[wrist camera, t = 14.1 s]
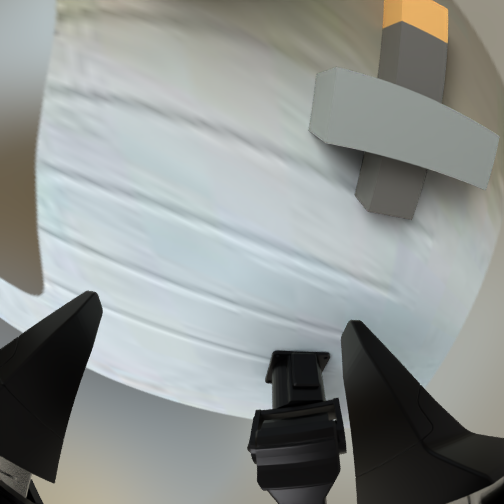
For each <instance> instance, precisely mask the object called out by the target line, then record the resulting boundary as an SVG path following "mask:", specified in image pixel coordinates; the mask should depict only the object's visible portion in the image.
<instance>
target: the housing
mask: <svg viewBox="0 0 504 504" xmlns="http://www.w3.org/2000/svg"><path fill="white" fill-rule="evenodd" d="M309 131H310V132H311V133H313V134H314V135H315V136H317V137H318V138H319V139H321V140H322V141H323V142H325V143H328V144H333V145H338V146H343V147H348V148H352V149H357V150H361V151H366V152H370V153H374V154H378V155H382V156H386V157H389V158H393V159H397V160H400V161H404V162H407V163H411V164H414V165H417V166H420V167H424V168H427V169H430V170H433V171H436V172H439V173H442V174H444V175H447V176H450V177H453V178H456V179H458V180H461V181H463V182H466V183H469V184H471V185H474V186H476V187H479V188H481V189H483V190H486V188H487V185H488V182H489V178H490V175H491V171H492V167H493V163H494V159H495V155H496V151H497V146H498V142H499V137H500V136H498V135H497V134H495V133H494V132H492V131H490V130H489V129H487V128H486V127H484V126H482V125H481V124H479V123H477V122H476V121H474V120H472V119H470V118H468V117H467V116H465V115H463V114H461V113H459V112H457V111H455V110H453V109H451V108H449V107H447V106H445V105H443V104H441V103H439V102H437V101H435V100H433V99H430V98H428V97H426V96H424V95H421V94H419V93H416V92H414V91H411V90H409V89H406V88H404V87H401V86H398V85H396V84H393V83H390V82H387V81H384V80H381V79H378V78H375V77H372V76H369V75H365V74H362V73H359V72H355V71H351V70H348V69H344V68H340V67H335V68H332V69H329V70H327V71H324V72H321V73H318V74H317V76H316V83H315V91H314V98H313V105H312V112H311V119H310V125H309Z"/></svg>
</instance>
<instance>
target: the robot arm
mask: <svg viewBox="0 0 504 504" xmlns="http://www.w3.org/2000/svg"><path fill="white" fill-rule="evenodd" d="M102 313H103V309H102V306H101V302H100V299H99V296H98V294H97V293H96V292H93V291H85V292H84V293H82V294H81V295H79V296H78V297H76V298H74V299H73V300H71V301H70V302H68V303H67V304H65V305H64V306H62V307H61V308H59V309H58V310H56V311H55V312H53V313H52V314H50V315H49V316H47V317H46V318H44V319H43V320H41V321H40V322H38V323H37V324H35V325H34V326H33V327H31V328H30V329H28V330H27V331H25V332H24V333H23V334H21V335H20V336H19V337H17V338H16V339H14V340H13V341H12V342H10V343H9V344H7V345H6V346H4V347H3V348H1V349H0V504H43V502H42V500H41V498H40V496H39V494H38V492H37V490H36V488H35V485H34V483H33V481H32V479H31V476H32V474H34V475H36V476H38V477H40V478H43V479H45V480H47V481H49V482H52V483H55V479H56V474H57V468H58V463H59V459H60V454H61V449H62V445H63V439H64V436H65V432H66V428H67V425H68V421H69V417H70V414H71V411H72V407H73V404H74V400H75V397H76V394H77V391H78V388H79V385H80V382H81V379H82V376H83V373H84V370H85V368H86V365H87V362H88V359H89V357H90V354H91V351H92V348H93V345H94V342H95V338H96V334H97V331H98V327H99V324H100V320H101V317H102ZM341 348H342V365H343V379H344V386H345V393H346V399H347V406H348V413H349V421H350V428H351V436H352V444H353V455H354V465H355V476H356V491H357V504H504V438H498V437H492V436H486V435H480V434H475V433H472V432H470V431H468V430H467V429H465V428H464V427H463V426H462V425H461V424H460V423H459V422H457V420H455V419H454V418H453V417H452V416H451V415H450V414H449V413H448V412H447V411H446V410H445V409H444V408H442V406H441V405H440V404H438V403H437V402H436V401H435V400H434V398H433V397H432V396H431V395H430V394H429V393H428V392H427V391H426V390H425V389H424V388H423V387H422V385H420V383H419V382H418V381H417V380H416V379H415V378H414V377H413V376H412V374H411V373H410V372H409V371H408V370H407V369H406V368H405V367H404V366H403V365H402V364H401V363H400V361H399V360H398V359H397V358H396V357H395V356H394V355H393V354H392V353H391V352H390V351H389V350H388V349H387V347H386V346H385V345H384V344H383V343H382V342H381V341H380V340H379V339H378V338H377V337H376V336H375V335H374V334H373V333H372V332H371V331H370V330H369V328H368V327H367V326H366V325H365V324H364V323H363V322H362V321H360V320H350V321H349V322H348V323H347V326H346V328H345V330H344V332H343V334H342V337H341ZM329 359H330V354H329V353H327V352H292V351H274V352H273V353H272V357H271V360H270V364H269V368H268V371H267V375H266V378H265V382H266V383H271V384H272V409H269V410H256V411H255V416H254V418H253V424H252V429H251V436H250V440H249V444H248V447H247V449H248V451H249V452H250V453H251V456H252V459H253V462H254V463H255V464H257V482H258V484H259V486H260V487H261V489H262V490H264V491H266V490H267V491H268V492H269V493H270V495H271V496H272V497H273V498H274V499H275V500H276V502H277V503H278V504H327V503H326V496H327V494H328V493H329V491H330V489H331V487H332V486H333V484H334V482H335V480H336V478H337V476H338V474H339V472H340V459H339V455H340V454H344V453H346V440H345V432H344V426H343V420H342V415H341V409H340V404H339V398H334V399H333V400H328V401H326V399H325V392H324V385H323V379H322V372H323V370H324V368H325V366H326V364H327V362H328V361H329ZM334 419H335V421H334Z"/></svg>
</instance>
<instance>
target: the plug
mask: <svg viewBox="0 0 504 504" xmlns="http://www.w3.org/2000/svg"><path fill="white" fill-rule="evenodd" d="M447 45H448V9H447V8H445V7H443V6H441V5H440V4H438V3H436V2H434V1H432V0H384V16H383V31H382V43H381V53H380V62H379V70H378V79H381V80H384V81H387V82H390V83H393V84H396V85H398V86H401V87H404V88H406V89H409V90H411V91H414V92H416V93H419V94H421V95H424V96H426V97H428V98H430V99H433V100H435V101H437V102H439V103H441V104H442V97H443V90H444V82H445V73H446V61H447ZM426 173H427V168H424V167H420V166H417V165H414V164H411V163H407V162H404V161H400V160H397V159H393V158H389V157H386V156H382V155H378V154H374V153H370V152H366V151H365V152H364V157H363V162H362V166H361V170H360V175H359V179H358V183H357V187H356V191H355V196H356V197H357V199H358V200H359V201H360V202H361V204H362V205H363V206H364V207H365V209H366V210H367V211H368V212H373V213H378V214H384V215H389V216H395V217H400V218H405V219H410V220H412V218H413V215H414V212H415V209H416V206H417V203H418V200H419V197H420V194H421V190H422V187H423V184H424V180H425V177H426Z"/></svg>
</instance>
